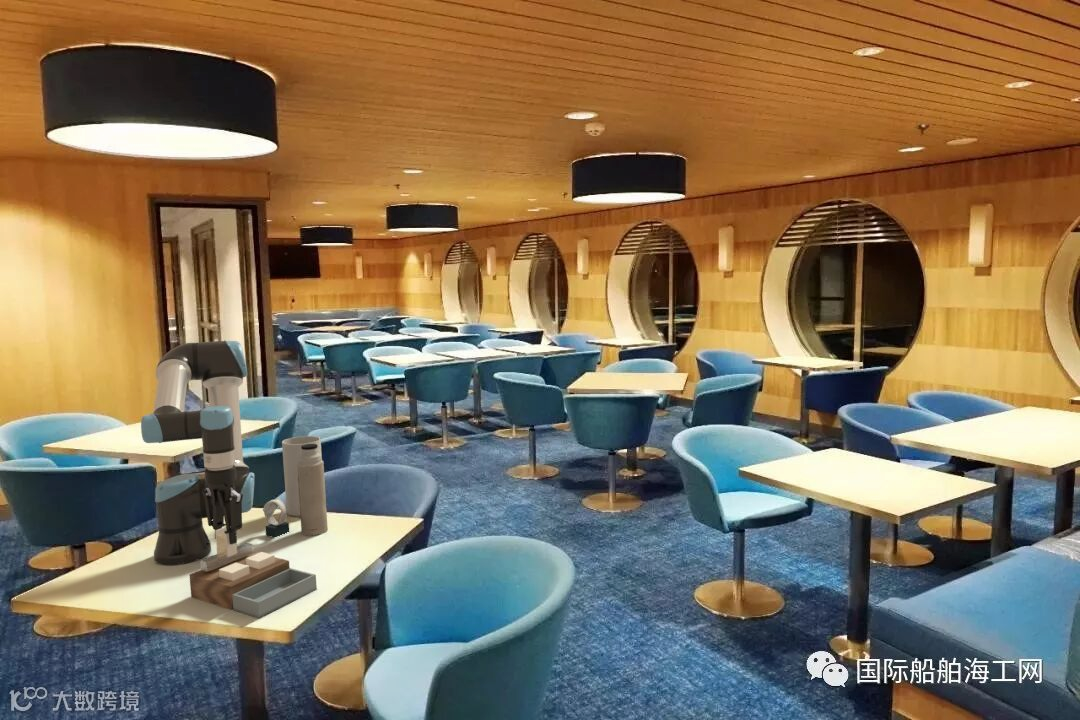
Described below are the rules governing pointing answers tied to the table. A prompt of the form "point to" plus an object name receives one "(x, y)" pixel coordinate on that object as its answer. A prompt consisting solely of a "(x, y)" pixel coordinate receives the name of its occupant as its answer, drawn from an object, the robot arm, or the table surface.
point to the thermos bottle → (312, 491)
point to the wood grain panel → (221, 589)
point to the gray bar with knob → (221, 558)
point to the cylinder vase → (294, 469)
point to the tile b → (260, 560)
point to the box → (274, 592)
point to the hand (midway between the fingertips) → (227, 553)
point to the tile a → (234, 571)
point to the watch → (274, 527)
